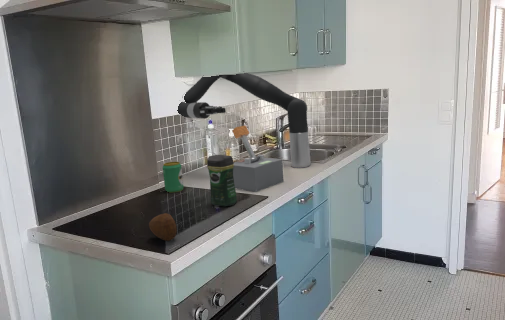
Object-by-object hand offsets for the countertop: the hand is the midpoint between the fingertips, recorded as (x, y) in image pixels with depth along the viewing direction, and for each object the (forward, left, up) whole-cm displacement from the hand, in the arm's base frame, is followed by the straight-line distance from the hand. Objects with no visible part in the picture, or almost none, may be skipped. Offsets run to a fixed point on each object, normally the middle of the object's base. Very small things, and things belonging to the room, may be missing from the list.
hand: (224, 110), depth 187 cm
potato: (+61, +34, -32) cm, 77 cm away
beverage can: (+24, -10, -32) cm, 41 cm away
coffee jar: (+27, +24, -32) cm, 48 cm away
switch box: (0, +16, -32) cm, 36 cm away
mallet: (0, +16, -21) cm, 26 cm away
